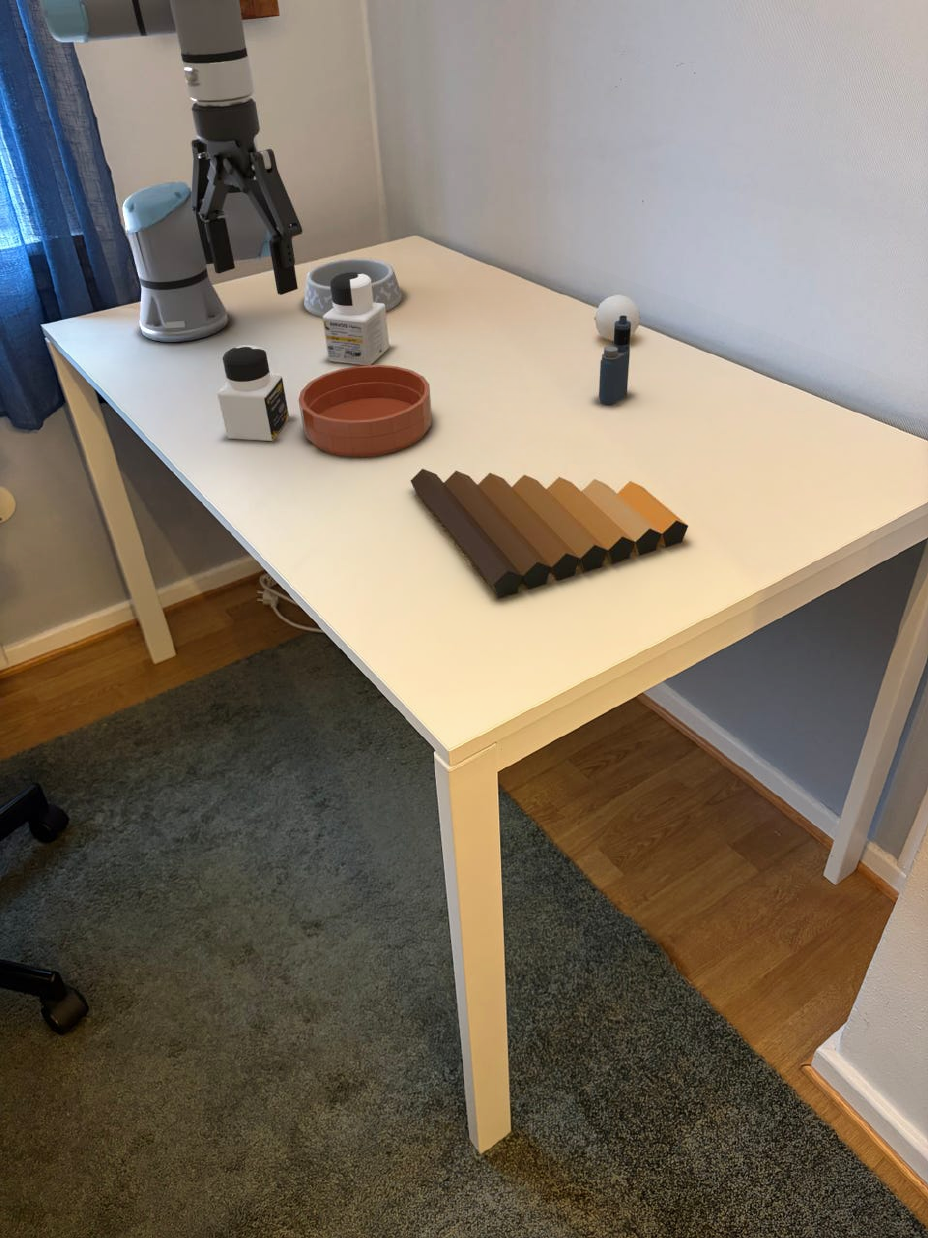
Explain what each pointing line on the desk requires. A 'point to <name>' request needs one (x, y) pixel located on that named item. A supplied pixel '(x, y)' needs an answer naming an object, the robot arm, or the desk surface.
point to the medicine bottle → (252, 396)
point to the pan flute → (545, 525)
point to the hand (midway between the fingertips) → (255, 280)
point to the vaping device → (615, 364)
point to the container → (355, 321)
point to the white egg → (616, 315)
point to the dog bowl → (321, 276)
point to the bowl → (366, 410)
